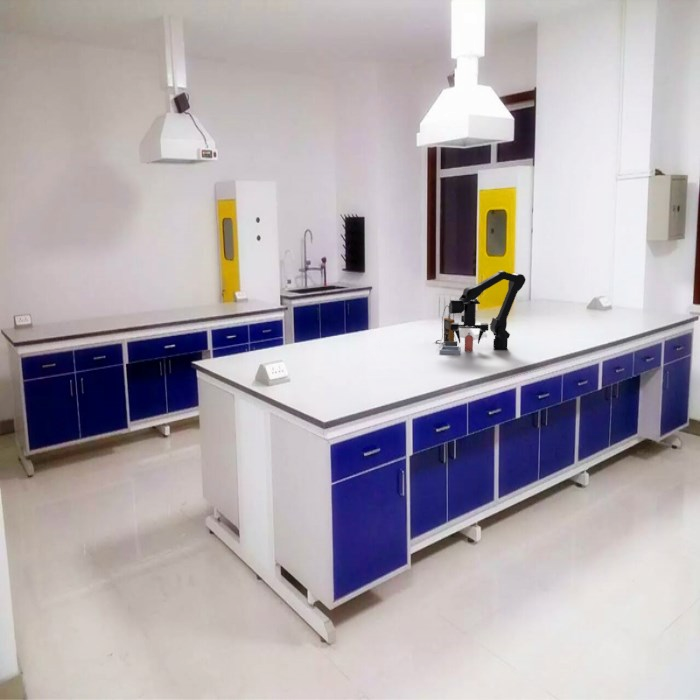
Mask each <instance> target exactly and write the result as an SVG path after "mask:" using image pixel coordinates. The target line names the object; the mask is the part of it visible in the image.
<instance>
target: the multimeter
mask: <svg viewBox="0 0 700 700" xmlns="http://www.w3.org/2000/svg"><path fill="white" fill-rule="evenodd" d="M447 307H448V308H449V304H447V305H446V306H445V307H444V309H443V313H442V316H444V313H445V310H446V308H447ZM452 315H453V317H452V318H451V314H450V313H448V317H441V318H442V321H441V322H443V326H441V332H442V336H441V339H443V343H445V341H455V340H457V338H456V334H455V332H453V330H450V326H451V323H456V322H455V315H454V314H452ZM441 339H438V340H436V341H435V344H442V345H443V343H442V342H441Z"/></svg>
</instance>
